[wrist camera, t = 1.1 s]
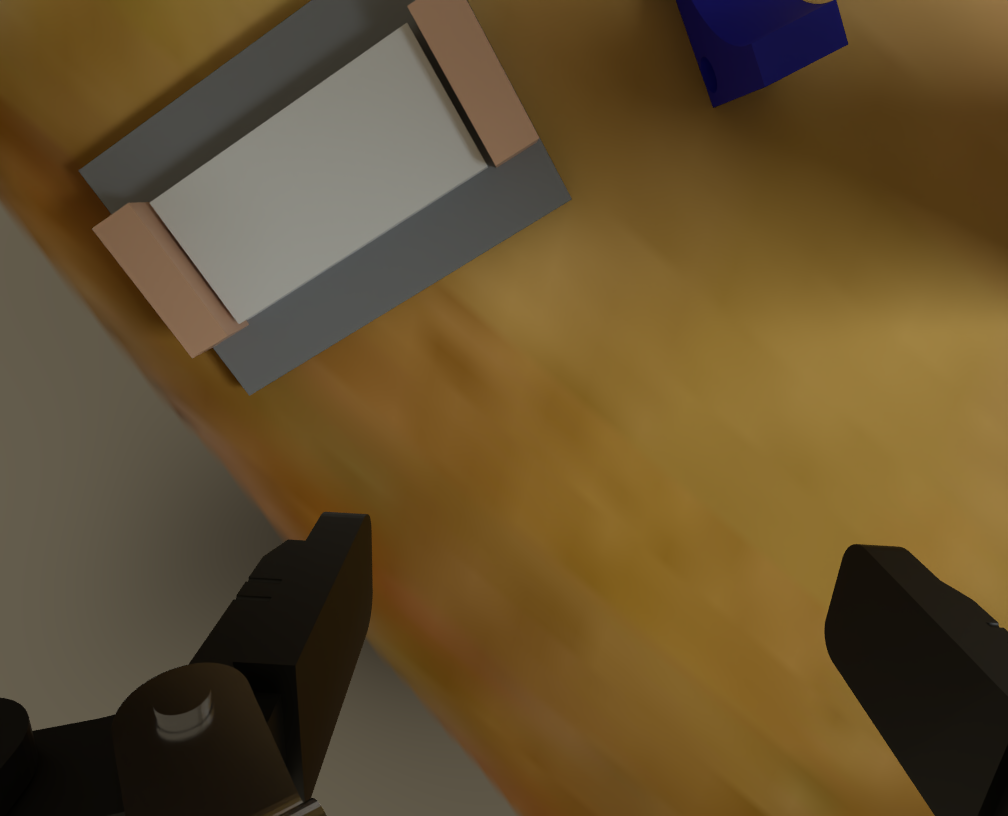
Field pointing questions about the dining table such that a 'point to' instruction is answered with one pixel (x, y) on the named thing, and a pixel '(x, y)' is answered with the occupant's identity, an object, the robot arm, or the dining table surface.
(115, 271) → the dining table surface
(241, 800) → the robot arm
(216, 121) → the rail board
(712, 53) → the blue curved block
